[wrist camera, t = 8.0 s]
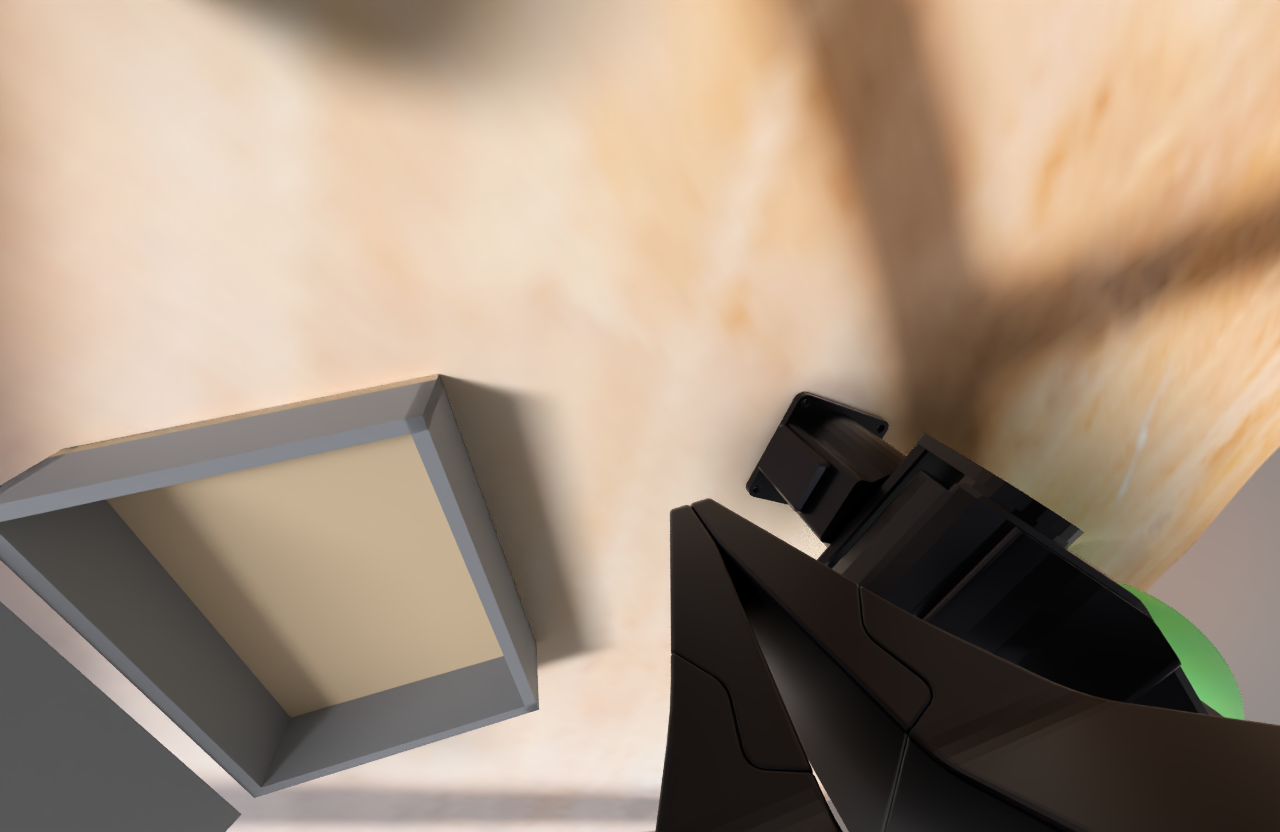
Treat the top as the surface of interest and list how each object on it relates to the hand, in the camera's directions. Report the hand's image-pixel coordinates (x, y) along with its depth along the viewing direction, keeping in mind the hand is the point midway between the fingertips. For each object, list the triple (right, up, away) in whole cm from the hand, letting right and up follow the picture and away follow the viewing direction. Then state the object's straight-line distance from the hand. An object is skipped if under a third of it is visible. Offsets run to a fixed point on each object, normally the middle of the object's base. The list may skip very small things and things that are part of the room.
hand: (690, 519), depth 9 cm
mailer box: (-15, -5, +14) cm, 21 cm away
